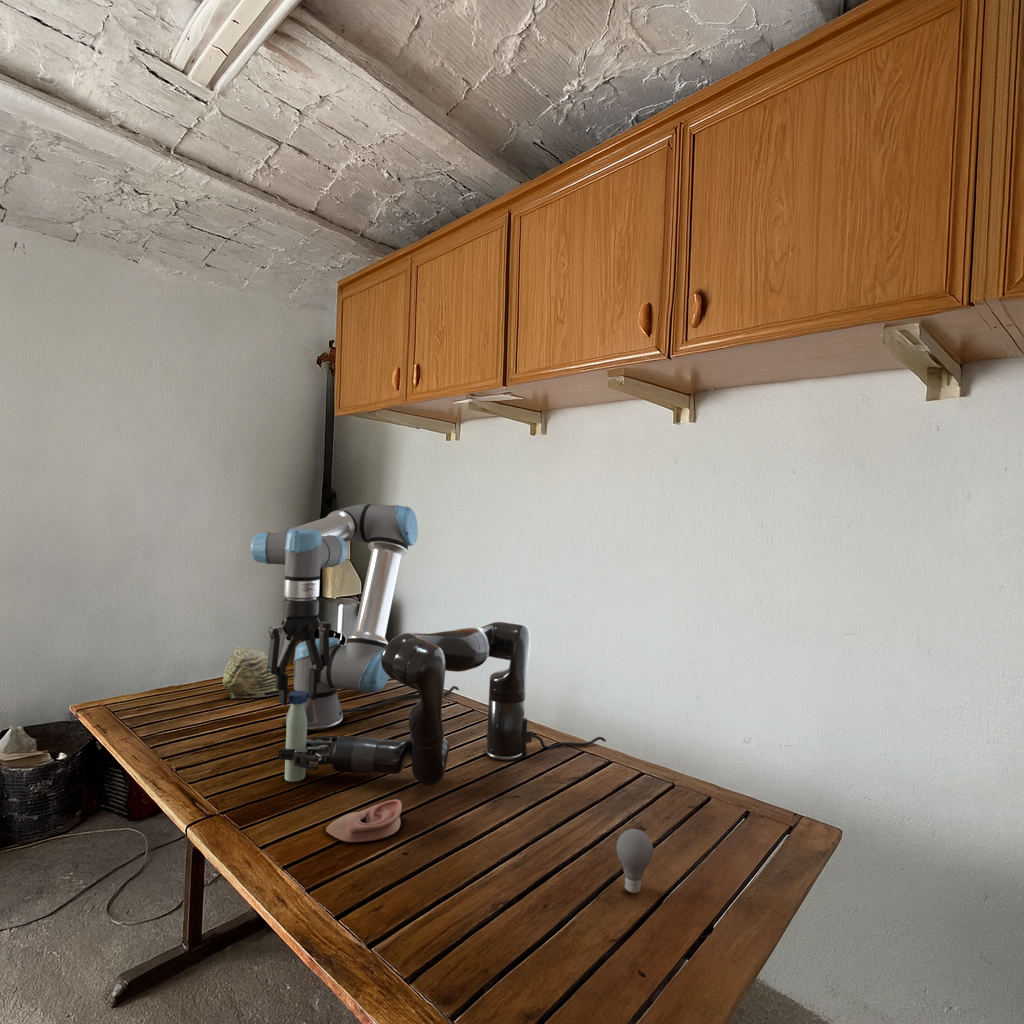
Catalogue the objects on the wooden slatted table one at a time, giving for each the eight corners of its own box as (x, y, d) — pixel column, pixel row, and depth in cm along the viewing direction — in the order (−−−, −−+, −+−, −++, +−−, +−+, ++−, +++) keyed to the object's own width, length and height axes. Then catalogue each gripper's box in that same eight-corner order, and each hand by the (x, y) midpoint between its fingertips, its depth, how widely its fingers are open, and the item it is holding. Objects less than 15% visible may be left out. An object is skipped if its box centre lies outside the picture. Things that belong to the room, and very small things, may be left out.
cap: (310, 701, 143) (311, 692, 143) (296, 705, 139) (296, 697, 139) (298, 697, 145) (299, 689, 145) (284, 702, 141) (284, 693, 141)
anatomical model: (318, 816, 117) (346, 789, 129) (317, 837, 118) (346, 808, 129) (385, 827, 115) (408, 798, 126) (384, 848, 115) (407, 818, 126)
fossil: (218, 695, 195) (220, 647, 195) (278, 685, 208) (279, 640, 207) (228, 703, 189) (230, 653, 188) (289, 692, 201) (290, 645, 201)
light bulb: (610, 879, 108) (613, 822, 108) (644, 879, 109) (647, 822, 109) (619, 902, 102) (622, 840, 102) (655, 901, 103) (658, 840, 103)
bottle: (284, 782, 140) (287, 699, 139) (284, 774, 144) (287, 693, 143) (305, 780, 141) (308, 698, 141) (304, 772, 145) (307, 692, 145)
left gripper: (265, 604, 132) (261, 713, 133) (348, 597, 145) (344, 697, 146) (252, 598, 138) (248, 704, 138) (333, 593, 151) (329, 689, 151)
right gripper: (368, 726, 148) (297, 721, 149) (348, 750, 134) (270, 744, 135) (367, 758, 148) (295, 753, 150) (347, 785, 134) (268, 779, 135)
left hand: (297, 700), depth 142 cm, fingers open, 6 cm apart
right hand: (284, 749), depth 142 cm, fingers closed on bottle, 4 cm apart
